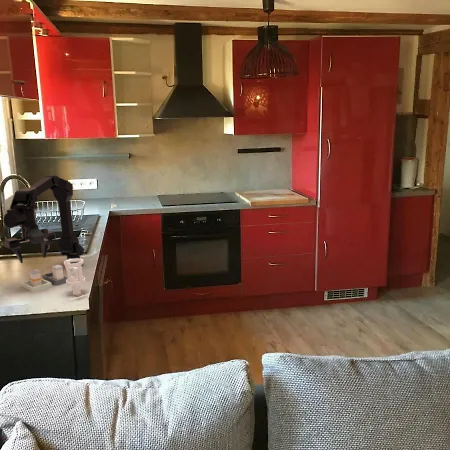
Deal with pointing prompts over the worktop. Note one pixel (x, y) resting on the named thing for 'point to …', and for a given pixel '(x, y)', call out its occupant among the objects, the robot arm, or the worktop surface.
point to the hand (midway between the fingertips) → (33, 260)
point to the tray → (28, 283)
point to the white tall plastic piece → (75, 275)
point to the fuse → (57, 272)
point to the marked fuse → (35, 277)
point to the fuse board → (50, 278)
